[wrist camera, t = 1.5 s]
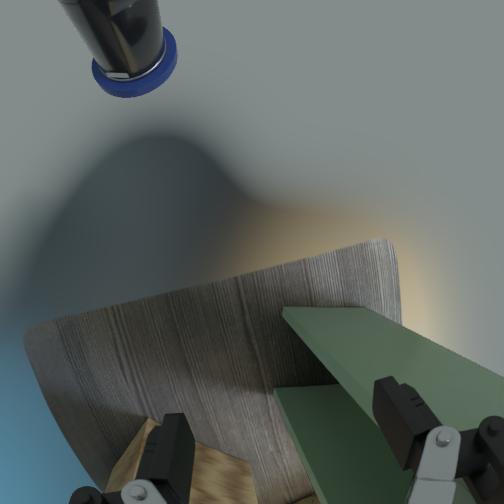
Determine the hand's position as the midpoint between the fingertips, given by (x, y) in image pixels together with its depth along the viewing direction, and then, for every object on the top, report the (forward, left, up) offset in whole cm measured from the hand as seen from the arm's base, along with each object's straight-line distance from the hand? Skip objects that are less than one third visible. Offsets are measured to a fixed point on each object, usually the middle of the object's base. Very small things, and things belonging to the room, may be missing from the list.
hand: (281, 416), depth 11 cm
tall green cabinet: (+13, +4, -24) cm, 27 cm away
